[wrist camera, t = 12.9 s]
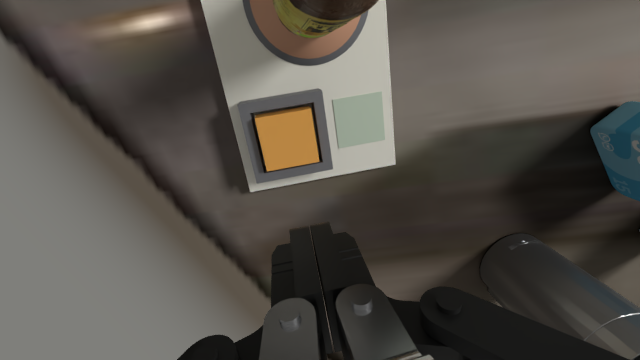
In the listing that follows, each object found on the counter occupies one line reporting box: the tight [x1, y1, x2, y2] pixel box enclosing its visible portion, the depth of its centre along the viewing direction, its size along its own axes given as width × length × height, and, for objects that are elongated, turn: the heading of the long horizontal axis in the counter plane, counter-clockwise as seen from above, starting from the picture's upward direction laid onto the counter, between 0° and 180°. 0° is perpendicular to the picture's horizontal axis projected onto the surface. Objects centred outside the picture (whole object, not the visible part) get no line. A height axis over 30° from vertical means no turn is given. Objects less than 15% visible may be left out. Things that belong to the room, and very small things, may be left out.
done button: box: [255, 106, 319, 171], centre depth 29 cm, size 5×5×2 cm
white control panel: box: [201, 0, 395, 192], centre depth 28 cm, size 24×16×4 cm, turn 9°
